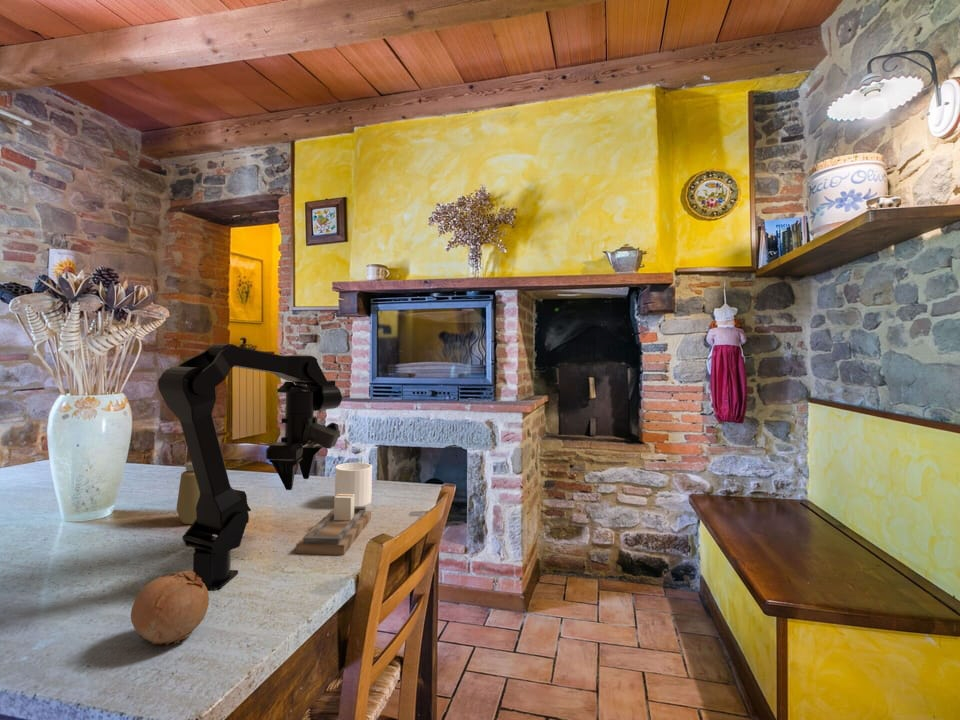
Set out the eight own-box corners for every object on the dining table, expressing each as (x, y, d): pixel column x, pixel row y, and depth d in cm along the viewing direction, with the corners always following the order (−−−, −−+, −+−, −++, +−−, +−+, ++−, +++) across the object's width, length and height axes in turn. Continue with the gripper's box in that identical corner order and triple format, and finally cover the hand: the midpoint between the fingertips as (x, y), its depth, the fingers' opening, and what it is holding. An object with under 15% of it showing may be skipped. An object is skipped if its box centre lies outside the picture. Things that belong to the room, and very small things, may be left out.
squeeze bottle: (168, 522, 115) (170, 448, 115) (201, 513, 122) (203, 443, 122) (188, 528, 111) (190, 452, 111) (221, 519, 118) (223, 446, 118)
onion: (197, 644, 72) (231, 577, 75) (168, 666, 63) (208, 588, 66) (137, 622, 72) (174, 555, 75) (99, 640, 63) (143, 563, 66)
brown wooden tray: (344, 554, 98) (344, 539, 98) (296, 553, 99) (296, 537, 99) (371, 519, 120) (371, 506, 120) (331, 517, 121) (332, 505, 121)
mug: (376, 505, 132) (377, 468, 132) (340, 510, 127) (341, 472, 127) (361, 493, 143) (362, 459, 143) (327, 498, 137) (328, 462, 137)
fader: (350, 520, 113) (351, 497, 113) (333, 520, 113) (334, 496, 113) (354, 516, 116) (354, 493, 116) (337, 515, 116) (338, 493, 116)
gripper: (320, 419, 94) (319, 497, 94) (348, 409, 113) (347, 474, 113) (265, 417, 94) (263, 496, 94) (302, 408, 113) (301, 473, 113)
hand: (297, 484), depth 104 cm, fingers open, 9 cm apart
